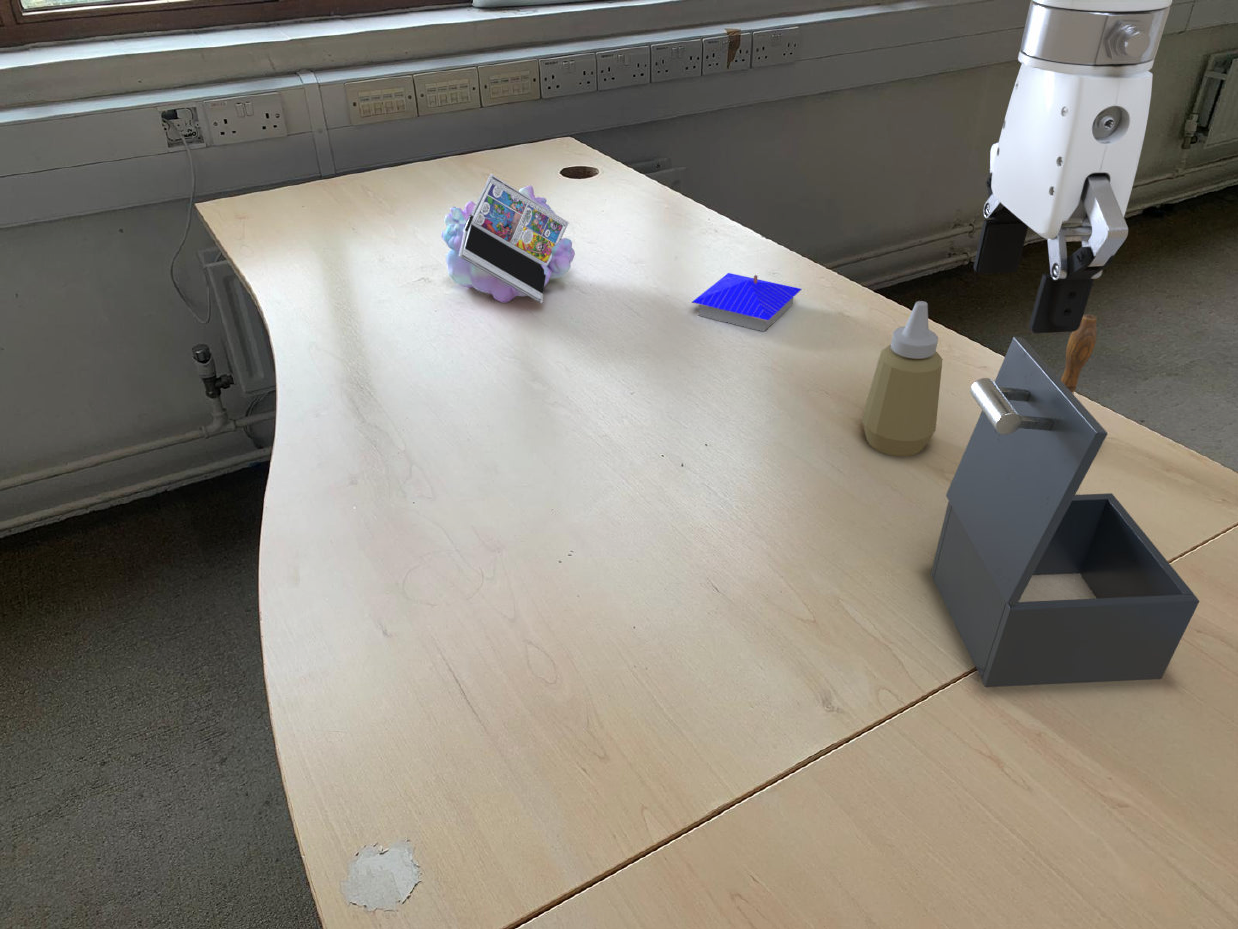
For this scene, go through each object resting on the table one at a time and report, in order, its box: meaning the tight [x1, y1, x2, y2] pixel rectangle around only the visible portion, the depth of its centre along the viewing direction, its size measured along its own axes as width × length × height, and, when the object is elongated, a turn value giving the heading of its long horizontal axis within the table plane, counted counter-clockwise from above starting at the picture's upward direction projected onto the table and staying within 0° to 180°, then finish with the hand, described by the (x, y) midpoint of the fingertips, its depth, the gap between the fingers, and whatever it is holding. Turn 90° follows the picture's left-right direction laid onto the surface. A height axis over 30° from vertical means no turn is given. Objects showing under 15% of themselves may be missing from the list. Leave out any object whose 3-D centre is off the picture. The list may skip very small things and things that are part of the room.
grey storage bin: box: [930, 492, 1200, 688], centre depth 76 cm, size 15×14×10 cm
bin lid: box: [945, 336, 1108, 605], centre depth 68 cm, size 16×14×5 cm
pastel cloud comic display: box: [440, 173, 576, 304], centre depth 137 cm, size 20×22×18 cm
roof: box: [691, 272, 803, 332], centre depth 131 cm, size 12×12×5 cm
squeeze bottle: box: [861, 300, 943, 457], centre depth 98 cm, size 8×8×18 cm
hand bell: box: [1060, 313, 1098, 404], centre depth 99 cm, size 8×8×16 cm
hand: (1022, 299), depth 64 cm, fingers open, 9 cm apart
